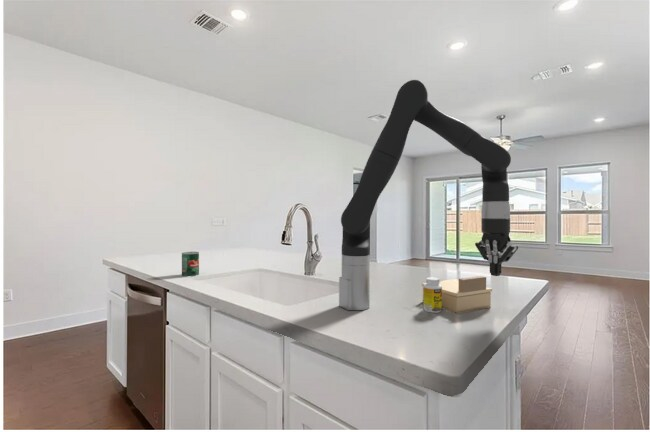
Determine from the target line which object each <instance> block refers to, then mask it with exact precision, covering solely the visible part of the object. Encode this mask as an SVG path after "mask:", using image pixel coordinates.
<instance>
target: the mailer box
mask: <svg viewBox="0 0 650 432" xmlns="http://www.w3.org/2000/svg"><path fill="white" fill-rule="evenodd" d="M491 294H492V293H491V292H486V293H480V294H473V295H466V296H460V297H456V296H452V295H449V294H446V293H443V292H442V310H446V311H449V312H451V313H453V314H457V315H458V314H463V313H469V312H473V311H480V310H485V309H490V308H491V306H492V304H491V302H492V299H491ZM422 302H423V303H424V287H423V286H422Z"/></svg>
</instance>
